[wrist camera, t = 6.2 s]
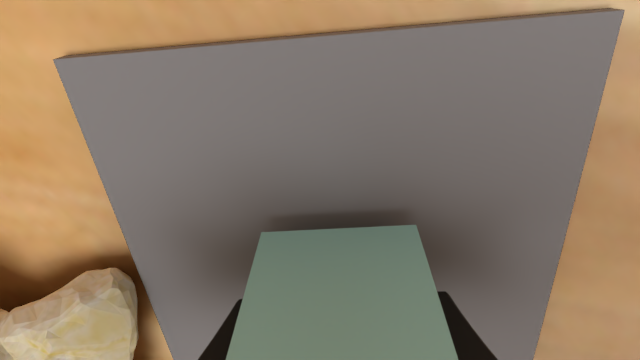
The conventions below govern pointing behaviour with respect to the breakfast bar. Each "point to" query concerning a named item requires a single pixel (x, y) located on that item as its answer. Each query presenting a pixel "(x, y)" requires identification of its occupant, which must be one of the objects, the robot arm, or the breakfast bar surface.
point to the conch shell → (75, 321)
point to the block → (341, 298)
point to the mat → (351, 156)
